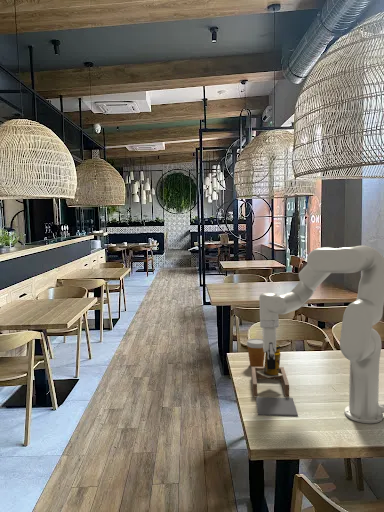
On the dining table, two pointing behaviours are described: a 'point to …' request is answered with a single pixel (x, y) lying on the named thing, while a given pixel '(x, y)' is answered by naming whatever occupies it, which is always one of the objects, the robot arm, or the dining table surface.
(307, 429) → the dining table surface
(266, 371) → the condiment
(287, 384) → the frame
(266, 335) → the robot arm
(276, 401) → the mat
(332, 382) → the dining table surface
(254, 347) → the disposable coffee cup
